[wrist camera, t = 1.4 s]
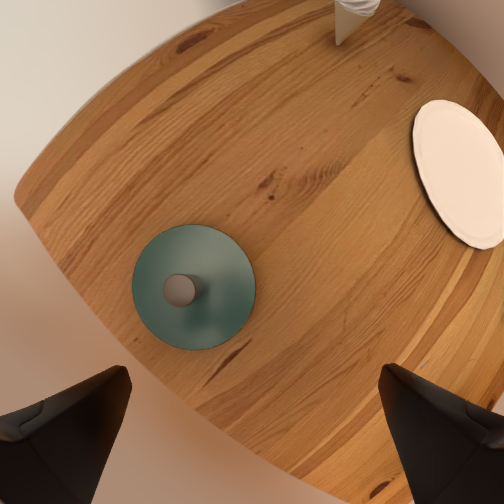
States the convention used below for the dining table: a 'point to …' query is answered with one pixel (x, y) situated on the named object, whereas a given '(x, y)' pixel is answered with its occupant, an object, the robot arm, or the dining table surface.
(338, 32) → the ice cream cone
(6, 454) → the robot arm
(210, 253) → the lid
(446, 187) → the plate
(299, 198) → the dining table surface
